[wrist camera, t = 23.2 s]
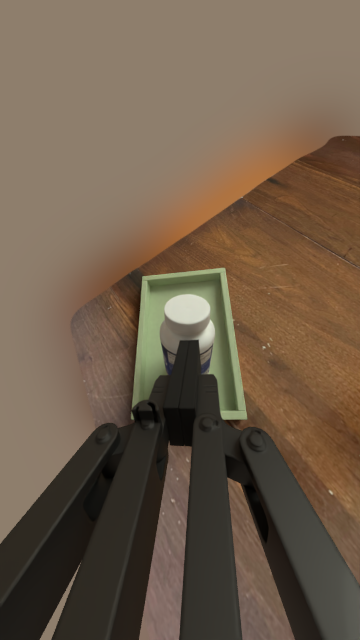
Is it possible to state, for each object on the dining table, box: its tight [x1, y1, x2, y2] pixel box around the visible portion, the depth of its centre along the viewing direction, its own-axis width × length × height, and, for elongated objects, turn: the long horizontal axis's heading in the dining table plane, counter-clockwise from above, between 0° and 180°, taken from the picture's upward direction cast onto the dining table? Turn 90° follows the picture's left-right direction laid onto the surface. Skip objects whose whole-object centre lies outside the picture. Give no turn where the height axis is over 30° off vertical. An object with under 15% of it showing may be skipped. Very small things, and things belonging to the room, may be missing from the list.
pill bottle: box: [160, 294, 215, 375], centre depth 18 cm, size 5×5×10 cm
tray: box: [131, 268, 247, 420], centre depth 24 cm, size 20×13×2 cm, turn 1°
